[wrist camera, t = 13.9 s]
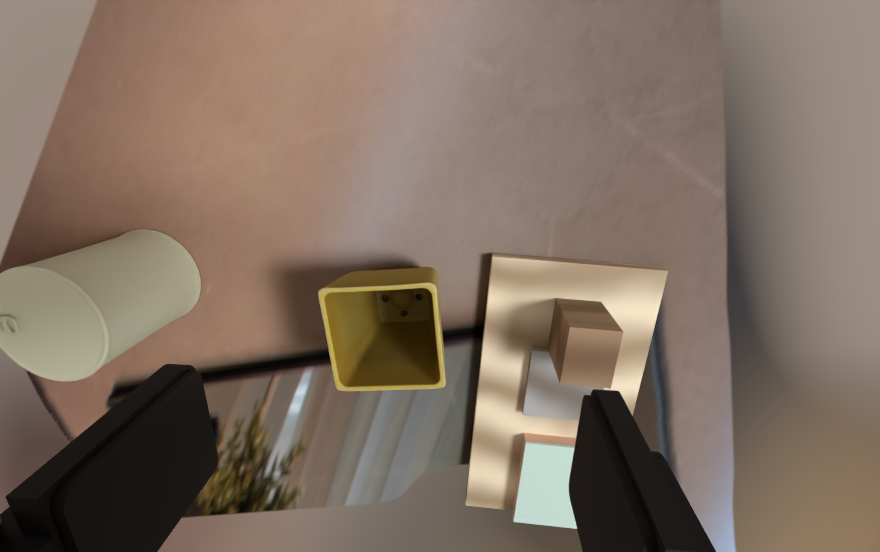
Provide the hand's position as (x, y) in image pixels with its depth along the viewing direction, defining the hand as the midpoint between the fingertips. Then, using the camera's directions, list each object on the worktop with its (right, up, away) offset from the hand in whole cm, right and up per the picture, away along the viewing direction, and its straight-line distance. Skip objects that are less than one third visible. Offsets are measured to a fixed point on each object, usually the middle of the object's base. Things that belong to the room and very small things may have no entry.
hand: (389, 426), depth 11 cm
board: (+12, -8, +33) cm, 36 cm away
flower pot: (-2, +2, +31) cm, 31 cm away
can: (-26, +4, +32) cm, 41 cm away
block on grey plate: (+13, -4, +30) cm, 33 cm away
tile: (+14, -13, +32) cm, 37 cm away
